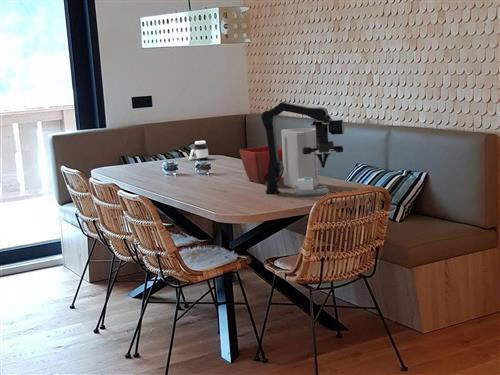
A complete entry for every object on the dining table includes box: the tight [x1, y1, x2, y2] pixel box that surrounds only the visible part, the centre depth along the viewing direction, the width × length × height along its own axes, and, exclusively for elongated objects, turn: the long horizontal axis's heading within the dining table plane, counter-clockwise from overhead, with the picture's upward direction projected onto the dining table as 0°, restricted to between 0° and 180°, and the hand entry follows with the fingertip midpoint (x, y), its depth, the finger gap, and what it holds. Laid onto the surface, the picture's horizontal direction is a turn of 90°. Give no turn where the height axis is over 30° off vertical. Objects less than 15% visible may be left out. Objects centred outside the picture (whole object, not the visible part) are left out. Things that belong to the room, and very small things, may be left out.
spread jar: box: [188, 140, 209, 161], centre depth 493 cm, size 12×11×12 cm
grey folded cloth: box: [294, 185, 329, 197], centre depth 366 cm, size 10×15×4 cm, turn 92°
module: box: [297, 177, 313, 190], centre depth 365 cm, size 5×7×7 cm
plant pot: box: [239, 145, 283, 184], centre depth 405 cm, size 19×19×17 cm
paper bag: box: [280, 127, 320, 189], centre depth 384 cm, size 19×15×28 cm
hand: (323, 167), depth 364 cm, fingers closed
